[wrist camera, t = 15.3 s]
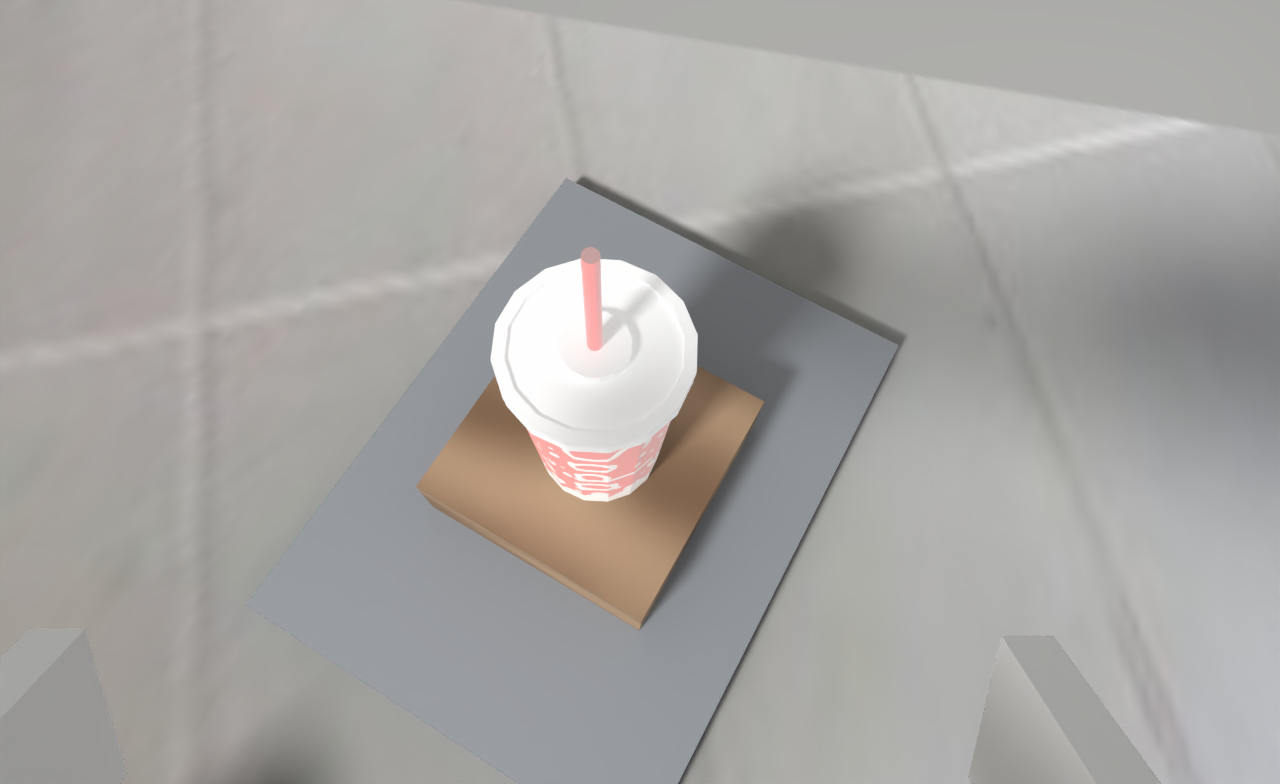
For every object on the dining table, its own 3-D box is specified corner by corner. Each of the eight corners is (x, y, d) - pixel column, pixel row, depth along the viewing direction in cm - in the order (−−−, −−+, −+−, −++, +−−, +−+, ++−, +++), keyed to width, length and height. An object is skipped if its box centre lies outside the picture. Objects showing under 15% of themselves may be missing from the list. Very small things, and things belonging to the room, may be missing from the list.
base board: (567, 190, 42) (566, 178, 41) (891, 354, 39) (898, 345, 38) (255, 608, 33) (245, 604, 33) (637, 858, 30) (638, 862, 30)
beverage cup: (502, 499, 31) (422, 338, 18) (547, 359, 34) (505, 127, 21) (657, 539, 31) (687, 401, 18) (692, 394, 33) (742, 180, 20)
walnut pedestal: (560, 332, 39) (555, 290, 35) (749, 434, 37) (764, 401, 33) (436, 511, 35) (416, 486, 32) (638, 633, 34) (641, 621, 30)
